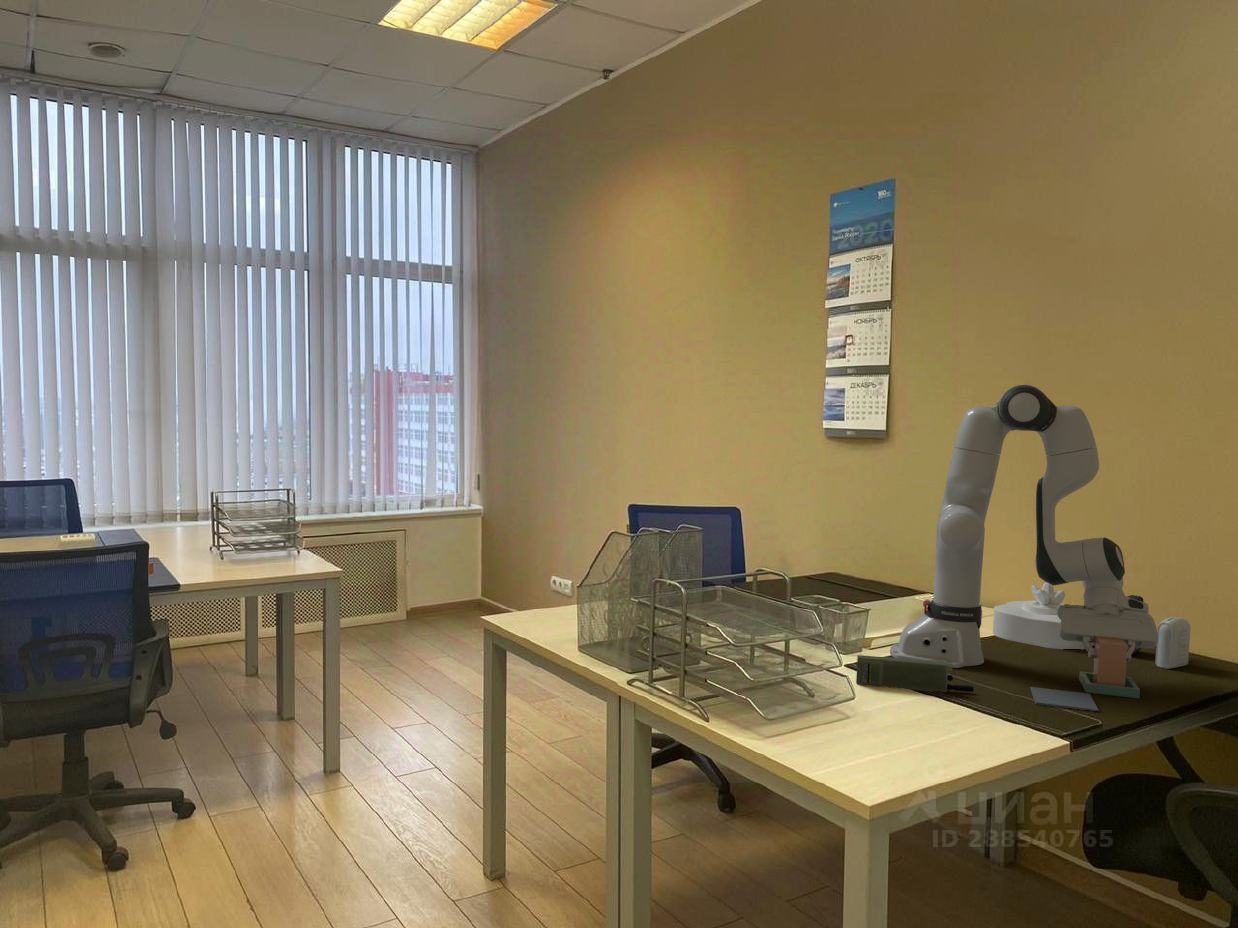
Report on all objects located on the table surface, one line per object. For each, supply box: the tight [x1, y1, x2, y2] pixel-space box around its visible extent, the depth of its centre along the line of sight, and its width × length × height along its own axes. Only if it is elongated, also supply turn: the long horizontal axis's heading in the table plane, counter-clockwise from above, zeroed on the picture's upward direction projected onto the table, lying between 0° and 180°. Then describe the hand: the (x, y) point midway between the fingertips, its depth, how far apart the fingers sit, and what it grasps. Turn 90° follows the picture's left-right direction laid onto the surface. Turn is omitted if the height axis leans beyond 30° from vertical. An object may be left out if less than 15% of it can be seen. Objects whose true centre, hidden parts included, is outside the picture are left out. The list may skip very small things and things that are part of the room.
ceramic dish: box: [1078, 670, 1141, 699], centre depth 208 cm, size 11×11×3 cm
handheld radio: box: [855, 654, 975, 693], centre depth 204 cm, size 7×3×25 cm
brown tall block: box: [1092, 637, 1128, 687], centre depth 208 cm, size 6×6×11 cm
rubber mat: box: [1030, 686, 1099, 712], centre depth 199 cm, size 12×12×1 cm
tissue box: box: [992, 582, 1095, 650], centre depth 257 cm, size 25×25×16 cm
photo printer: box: [1154, 616, 1192, 670], centre depth 230 cm, size 10×4×12 cm, turn 123°
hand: (1109, 658), depth 208 cm, fingers closed on brown tall block, 6 cm apart
